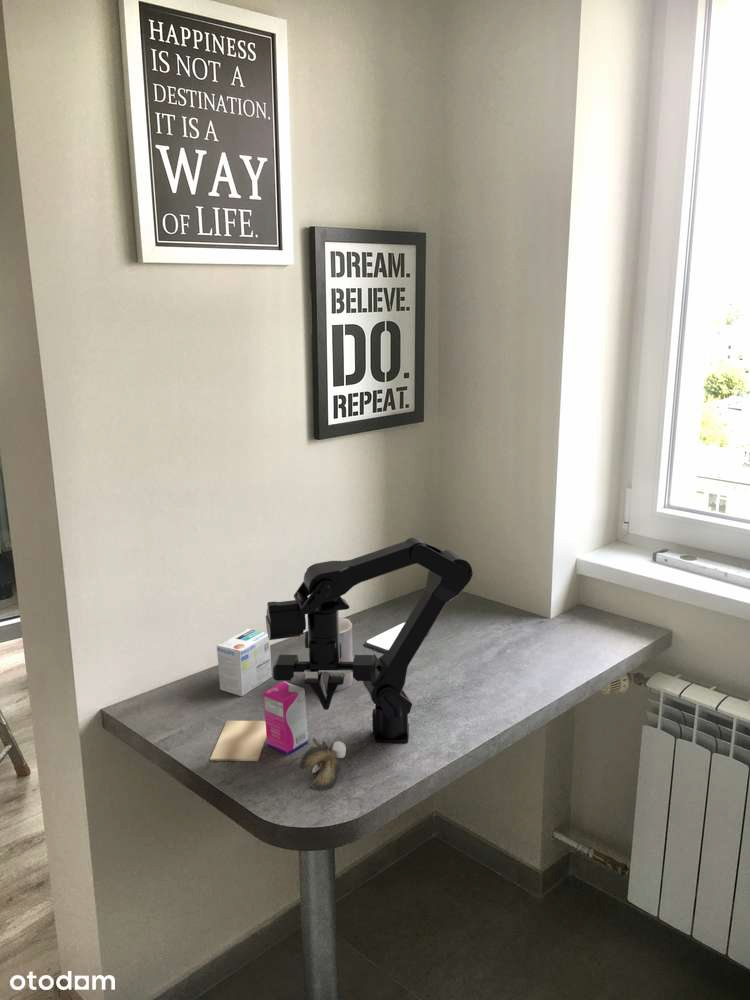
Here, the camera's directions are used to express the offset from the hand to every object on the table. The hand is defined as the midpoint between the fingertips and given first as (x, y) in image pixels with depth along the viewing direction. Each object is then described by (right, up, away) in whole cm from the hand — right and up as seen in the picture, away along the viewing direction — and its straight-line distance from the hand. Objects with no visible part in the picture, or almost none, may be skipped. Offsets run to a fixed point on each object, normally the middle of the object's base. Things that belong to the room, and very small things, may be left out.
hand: (326, 708), depth 158 cm
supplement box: (-8, -8, +2) cm, 11 cm away
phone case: (+15, +4, +49) cm, 51 cm away
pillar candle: (0, -1, +27) cm, 27 cm away
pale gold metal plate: (-17, -7, +4) cm, 18 cm away
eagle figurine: (0, -10, -8) cm, 13 cm away
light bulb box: (-19, -1, +27) cm, 33 cm away
